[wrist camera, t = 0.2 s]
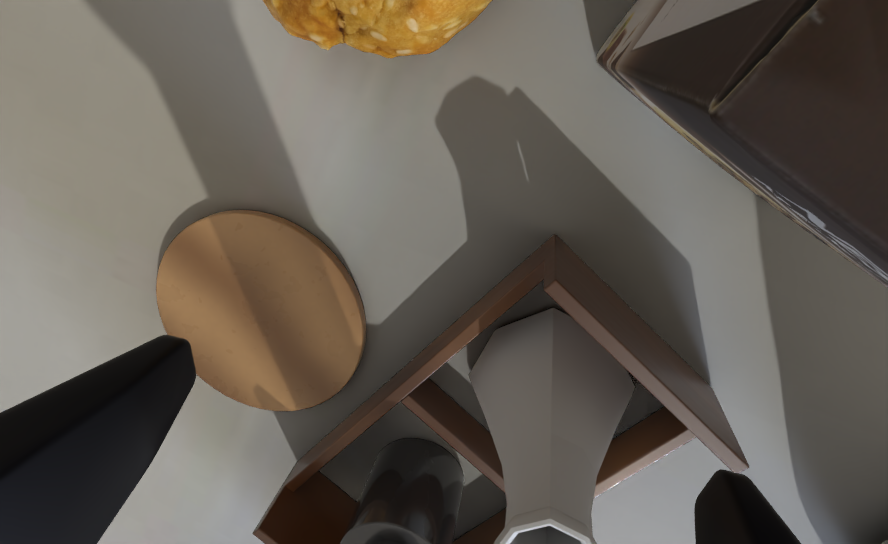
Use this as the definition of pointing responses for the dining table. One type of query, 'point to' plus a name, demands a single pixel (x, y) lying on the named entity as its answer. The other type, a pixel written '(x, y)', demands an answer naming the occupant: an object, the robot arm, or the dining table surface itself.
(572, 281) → the rack
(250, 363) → the cork trivet
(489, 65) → the dining table surface
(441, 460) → the pepper pot
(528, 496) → the flask
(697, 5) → the coffee box
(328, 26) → the bagel
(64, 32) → the dining table surface
